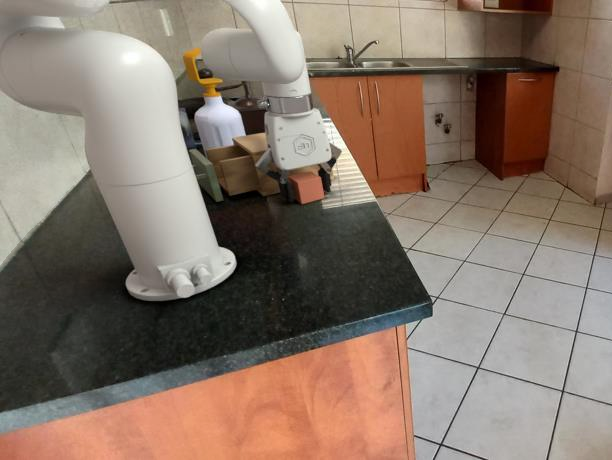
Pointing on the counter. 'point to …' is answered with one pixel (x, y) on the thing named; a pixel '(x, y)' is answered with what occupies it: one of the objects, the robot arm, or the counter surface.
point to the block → (306, 187)
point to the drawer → (225, 170)
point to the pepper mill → (243, 106)
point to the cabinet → (257, 148)
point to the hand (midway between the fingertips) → (307, 194)
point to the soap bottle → (213, 110)
